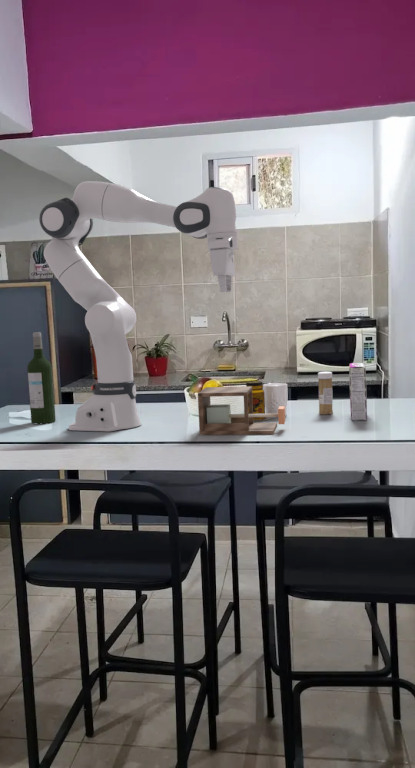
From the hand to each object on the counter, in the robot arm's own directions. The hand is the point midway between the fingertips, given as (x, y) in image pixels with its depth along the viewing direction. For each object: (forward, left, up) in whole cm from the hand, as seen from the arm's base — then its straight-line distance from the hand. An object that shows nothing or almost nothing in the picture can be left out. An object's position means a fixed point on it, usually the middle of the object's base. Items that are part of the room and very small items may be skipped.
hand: (225, 291), depth 205 cm
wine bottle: (-65, +12, -40) cm, 78 cm away
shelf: (+3, -6, -40) cm, 41 cm away
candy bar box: (+38, +13, -40) cm, 57 cm away
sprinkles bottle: (+28, +21, -40) cm, 53 cm away
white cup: (+12, +20, -40) cm, 46 cm away
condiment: (+6, +13, -40) cm, 43 cm away
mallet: (+5, -6, -39) cm, 40 cm away
